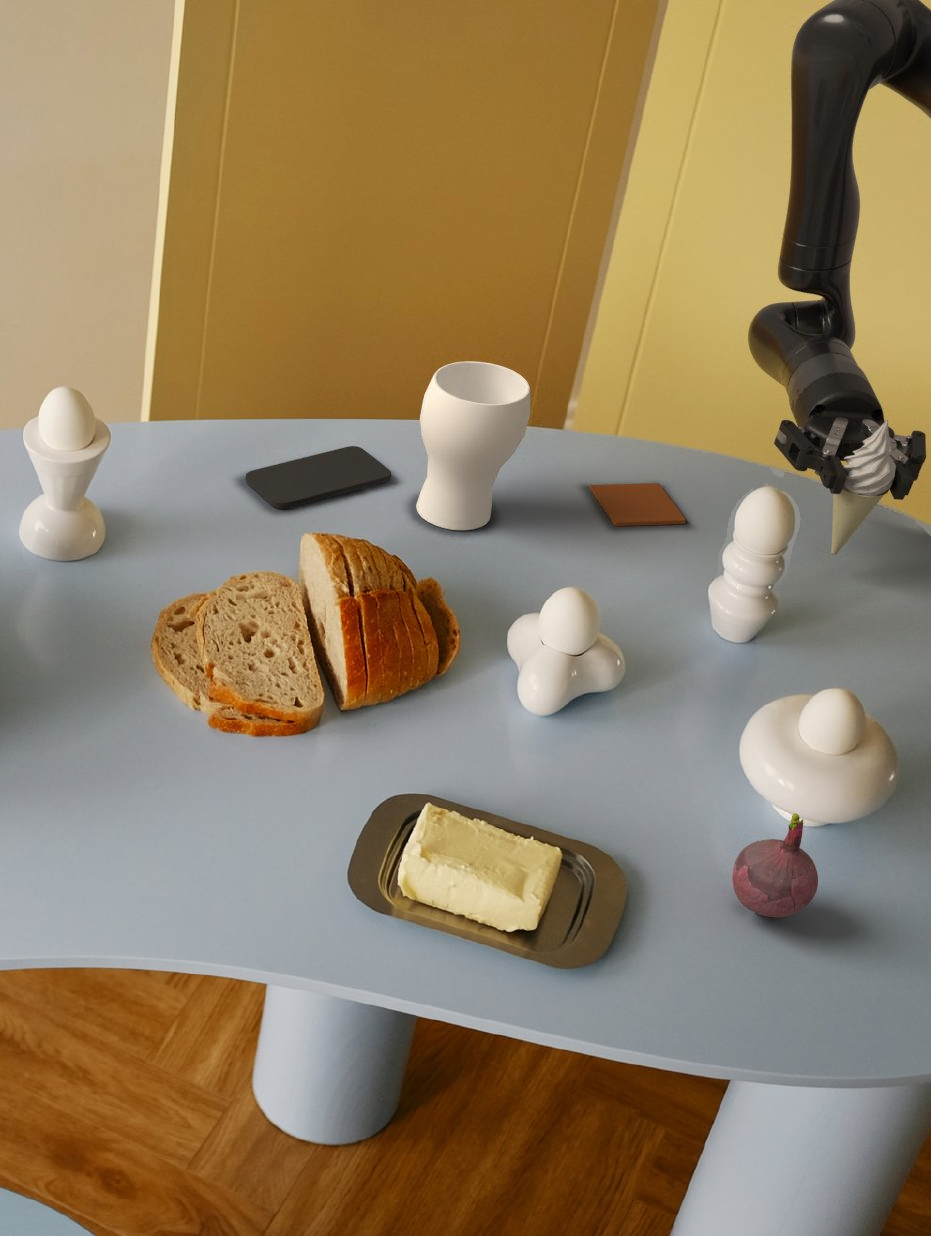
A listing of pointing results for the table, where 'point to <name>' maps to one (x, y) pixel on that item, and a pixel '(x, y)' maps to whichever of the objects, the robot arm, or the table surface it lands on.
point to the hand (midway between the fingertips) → (871, 488)
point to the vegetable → (776, 874)
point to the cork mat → (637, 504)
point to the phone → (317, 476)
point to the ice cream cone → (862, 485)
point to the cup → (469, 439)
